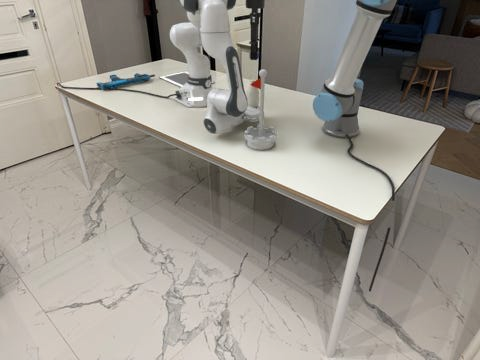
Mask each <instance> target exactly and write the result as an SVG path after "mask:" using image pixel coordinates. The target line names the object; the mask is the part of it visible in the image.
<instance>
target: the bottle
mask: <svg viewBox="0 0 480 360" xmlns="http://www.w3.org/2000/svg"><path fill="white" fill-rule="evenodd" d="M256 80H257V79H255V78H251V79H249V87H248V88H247V90H246V97H247V101H248V106H250V107H253V108H256V107H258V106H259V107H260V89H258V88H256V87H253V86H251V85H250V84H252V83H253V82H255V81H256Z"/></svg>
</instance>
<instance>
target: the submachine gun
mask: <svg viewBox="0 0 480 360" xmlns="http://www.w3.org/2000/svg"><path fill="white" fill-rule="evenodd" d="M154 77H156V74H147V73H142V74H141V73H139V72H137V73H135V74H133V77H128V78H121V77H119V76H118V75H117V74H110V75H109V79H111V81H107V82H96V83H95V84H96V87H97V88H101V89H100V90H102V91H103V90H104V91H105V90H106V89H108V88H114V89H115V88H116V89H117V88H120V87H122V86H127V85H133V84H138V83H142V82H148V81H149V80H150V79H151V78H154Z"/></svg>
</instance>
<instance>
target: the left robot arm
mask: <svg viewBox="0 0 480 360" xmlns="http://www.w3.org/2000/svg"><path fill="white" fill-rule="evenodd" d="M179 3H180V5H181V7H182V8H183V10H185V11H186V16H187V19H188V22H179V23H176V24H173V25H172V26H171V28H170V30H169V40H170V41H171V43H172V45H173V46H174V47H175V48H177V49H178V50H180V52H181V53H182V54H183V56H184V58H185V60H186V64H187V70H188V71H187V72H189V76H185V77H186V78H188V79H187V83H185V84H184V85H183V86H182V87H180V88H179V90H175V92H174V93H172V94H169V95H168V96H164V95H160V94H155V93H151V92H147V91H143V90H137V89H136V90H135V89H129V88H117V87H116V88H115V89H114V88H108V89H105V90H106V91H107V90H108V91H109V90H113V91H126V92H134V93H141V94H146V95H150V96H154V97H159V98H163V99H168V98H170V97H174V96H175V98H174V100H175V101H176V102H178V103H180V104H181V105H184V106H186V107H188V108H202V107H206V113H205V117H204V118H203V126H204V128H205V129H206V130H207V132H209V133H210V134H214V135H216V134H220V133H223V132H226V131H227V130H229V129H230V128H234V127H236V126H238V125H241V124H242V123H243V122H244V121H247V122H250V123H256V122H259V118H260V105H259V106H258V107H256V108H253V107H250V106H248V101H247V93H246V91H245V86H244V80H243V74H242V67H241V62H240V57H239V53H238V51H237V49H236V48H235V46H234V44H233V40H232V37H231V25H230V18H229V17H230V16H229V12H228V11H229V10H232V9H234V8H235V6H236V3H237V0H179ZM198 48H203V50H204V51H205V52H206V53H207V55H208V56H207V55H205V54H203V53H201V52H199V51H198ZM209 57H211V58H213V59H215V60H216V61H218V62H219V63H220V64H221V65H222V66H223V68H224V70H225V73H226V78H227V84H228V89H226V88H220V87H213V83H212V82H213V77H212V74H211V61H210V59H209ZM56 86H59V87H61V88H62V89H63V88H64V89H74V90H102V89H101V88H100V87H76V86H64V85H62V84H61V83H60V82H57V83H56ZM264 118H265V113H264V114H263V120H264Z"/></svg>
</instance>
